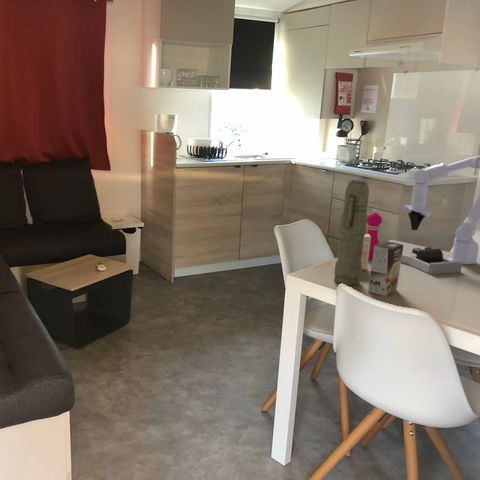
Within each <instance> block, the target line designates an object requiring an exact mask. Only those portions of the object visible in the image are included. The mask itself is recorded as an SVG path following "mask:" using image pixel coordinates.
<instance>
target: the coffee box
mask: <svg viewBox="0 0 480 480" xmlns="http://www.w3.org/2000/svg"><path fill="white" fill-rule="evenodd" d="M403 250H404V244H401V243H398V242H393V241H388V240H386V241H383V242H379V244H376V245H374V252H373V260H371V267H370V277H369V284H368V291H367V292H369V293H373V294H377V295H379V296H382V297H386V296H389V295H390V294H392V293H394V292H396V291H397V290H398V285H399V279H400V278H399V277H400V271H401V263H402V262H401V258H402V254H403Z"/></svg>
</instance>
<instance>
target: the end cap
mask: <svg viewBox="0 0 480 480" xmlns="http://www.w3.org/2000/svg"><path fill="white" fill-rule="evenodd" d="M411 253H412V254H414V255H416V256H414V255H411V256H412V257H415V258H417V259H419V260H422V261H424V262H426V263H428V264H429V263H437V262H442V260H443V257H444V254H443V251H442V249H440V248H432V247H430V246H428V247H424V249H423V248H420V247H414V248H412V251H411Z"/></svg>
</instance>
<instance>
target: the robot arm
mask: <svg viewBox="0 0 480 480" xmlns="http://www.w3.org/2000/svg"><path fill="white" fill-rule="evenodd" d="M467 168H471V169H479V170H480V155H477V156H471V157H468V158H465V159H463V160H458V161H456V162H452V163H449V164H447V163H445V162H440V161H439V162H436V164H435V165H431V166H425V167H424V168H422V169H418V170H416V171H415V172H414V174H413V180H414V183H413V187H412V195H411V201H410V205H409V204H404V207H403V209H404V210H405V211H406V210H407V211H409V212H408V213H407V215H408V218H409V220H410V226H411V230H412V231H418V229H419V227H420V224H421V223H422V221H423V220H424V218H425V217H431V215H432V211H429V210H428V209H426V203H427V196H428V190H429V188H428V186H429V182H430V181H436V180H440V179H442V178H446V177H448V176H449V175H450V173H452V172H455V171H461V170H464V169H467ZM479 221H480V194H479V195H478V196H477V199H476V201H475V202H474V204H473V206H472V208H471V209H470V211H469V213H468V215H467V216H466V217H465V219H464V221H463V223H462V224H460V226H459V227H457V228H456V230H455V232H454V235H455V237H454V241H453V247H452V252H451V257H446V258H447V259H449V260H452V261H461V262H462V266H463V265H474V264H475V265H476V264H478V263H479V262H478V261H477V260H478V255H479V244H478V242H477V241H476V240H474V238H473V236H474V235H475V234H476V228H477V227H478V224H479Z"/></svg>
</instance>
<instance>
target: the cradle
mask: <svg viewBox="0 0 480 480" xmlns="http://www.w3.org/2000/svg"><path fill="white" fill-rule="evenodd" d="M412 256H413V255H408V254H404V253H402V258H401V263H403V264H406V265H410V266H412V267H414V268H416V269H418V270H420V271H422V272H425V273H426V274H428V275H440V274H441V275H443V274H454V273H456V274H457V273H461V271H462V267H463V265H462V262H461V261H452V260H449V259H447V258H448V257H444V256H443V260H442V262H437V263H429V264H428V263H426V262H424V261H422V260H419V259H417V258H415V257H416V256H414V257H412Z"/></svg>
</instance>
